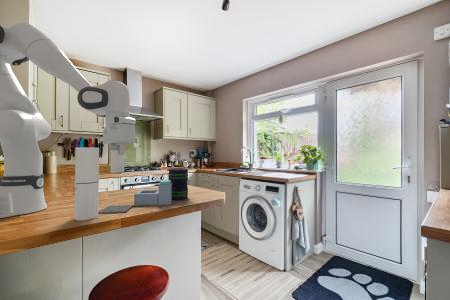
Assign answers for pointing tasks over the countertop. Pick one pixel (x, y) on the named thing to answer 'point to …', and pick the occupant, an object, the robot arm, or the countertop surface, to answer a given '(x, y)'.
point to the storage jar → (179, 184)
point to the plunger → (165, 182)
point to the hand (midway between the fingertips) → (117, 154)
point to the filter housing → (154, 196)
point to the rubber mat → (116, 209)
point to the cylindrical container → (86, 183)
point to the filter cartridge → (116, 160)
